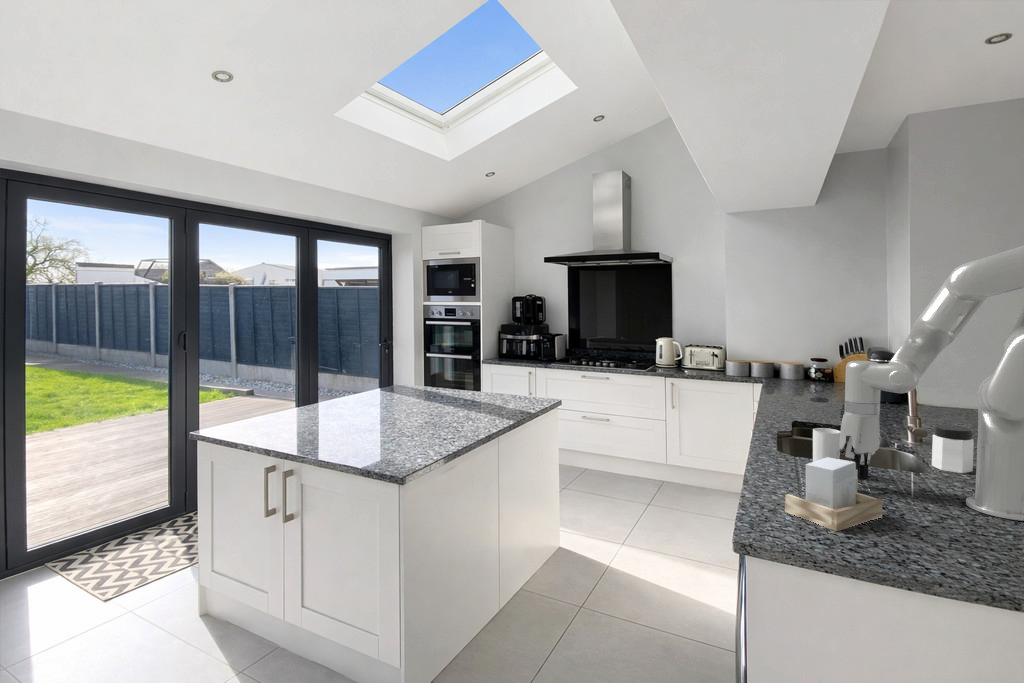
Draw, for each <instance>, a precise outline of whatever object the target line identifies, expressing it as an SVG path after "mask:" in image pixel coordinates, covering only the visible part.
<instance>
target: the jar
mask: <svg viewBox="0 0 1024 683" xmlns="http://www.w3.org/2000/svg"><path fill="white" fill-rule="evenodd" d="M974 441H975V440H974V439H973V429H971V428H969V427H968V428H967V427H965V426H956V425H947V424H943V425H942V424H938V425H935V426H934V434H932V443H931V444H932V447H931V467H933V468H936V469H938V470H940V471H945V472H951V473H957V474H966V473H973V470H974V469H973V468H974V466H973V464H974V443H975V442H974Z"/></svg>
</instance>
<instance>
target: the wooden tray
mask: <svg viewBox="0 0 1024 683" xmlns="http://www.w3.org/2000/svg"><path fill="white" fill-rule="evenodd" d="M784 500H785V501H784V503H785V504H784V513H787V514H789V515H791V516H794V515H795V516H794V517H796V518H797V517H798V518H799V517H801V519H802V518H803V519H802V520H805V519H806V520H805V521H807V520H809V521H808V522H810V521H811V522H810V523H813V522H814V523H813V524H815V523H816V524H815V525H818V524H819V525H818V526H821V527H823V526H824V527H823V528H826V529H829V530H831V531H834V532H838V531H843V530H845V529H849V527H850V528H852V526H853V527H856V526H859V525H858V524H860V525H862V524H861V523H863V524H865V523H864V522H867V521H870V520H874V519H877V520H879V519H878V518H881V519H883V506H884V504H883V503H884V502H883V499H880V498H876V497H873V496H870V495H868V494H867V495H866V494H863V493H860V492H858V491H857V492H856V504H855V505H852V506H848V507H844V508H840V509H836V510H834V509H831V508H828V507H825V506H822V505H819V504H816V503H813V502H810V501H807V500H806V498H805V499H803V498H801V497H798V496H795V495H793V494H789V493H788V494H785V499H784ZM874 521H875V520H874ZM870 522H871V521H870ZM867 523H868V522H867ZM855 525H856V526H855Z"/></svg>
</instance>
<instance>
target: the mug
mask: <svg viewBox="0 0 1024 683" xmlns="http://www.w3.org/2000/svg"><path fill="white" fill-rule="evenodd" d="M840 431H841V430H838V429H834V428H826V427H825V428H824V427H816V428H812V462H814V461H817V460H820V459H823V458H826V457H830V458H835V459H840V456H841V455H840V454H841V450H840V448H839V442H840Z"/></svg>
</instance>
